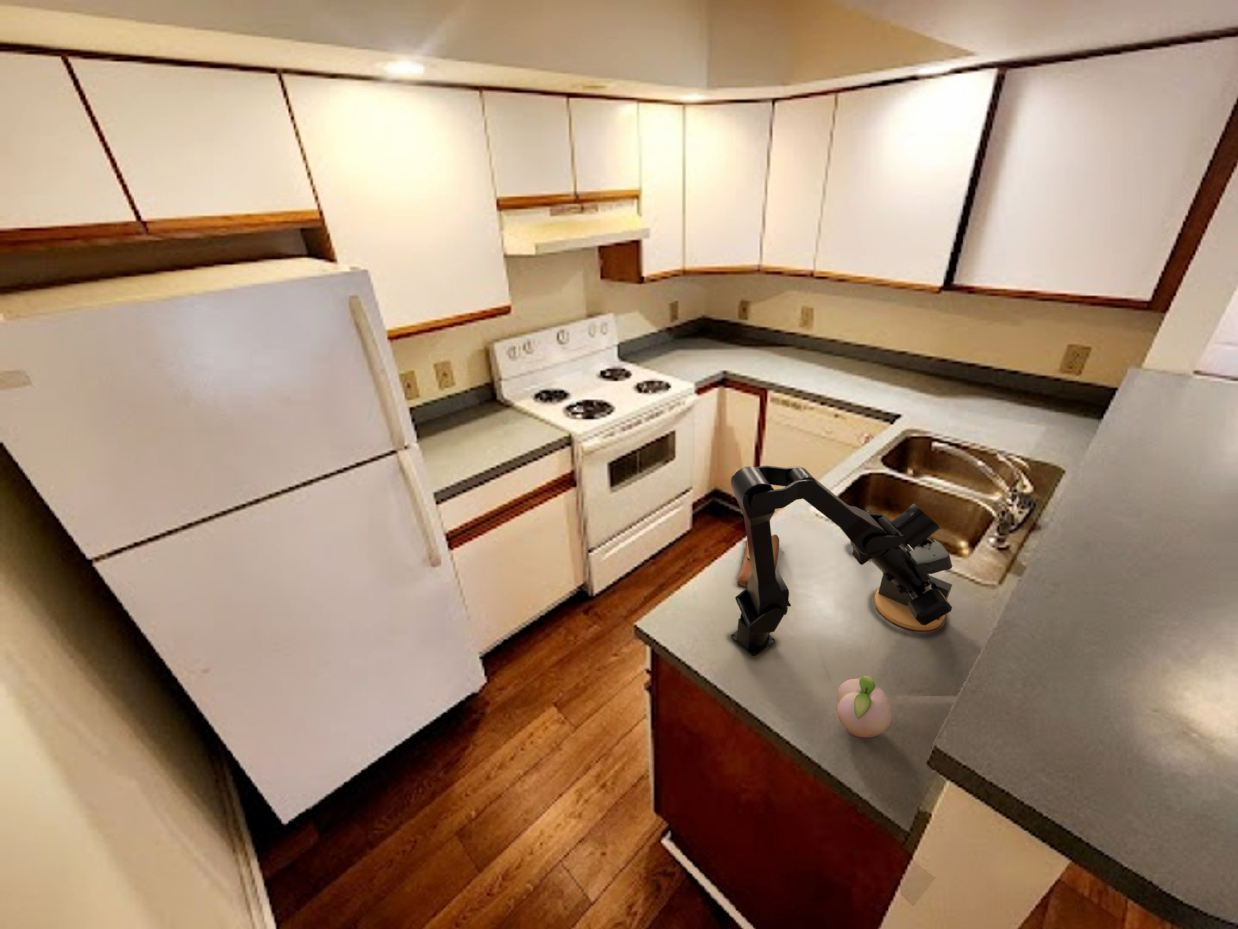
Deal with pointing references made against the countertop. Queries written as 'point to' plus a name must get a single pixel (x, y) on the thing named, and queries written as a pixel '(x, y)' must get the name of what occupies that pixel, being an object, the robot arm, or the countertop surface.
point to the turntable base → (904, 627)
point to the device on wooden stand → (904, 604)
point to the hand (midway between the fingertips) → (935, 604)
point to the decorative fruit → (863, 707)
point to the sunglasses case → (746, 564)
